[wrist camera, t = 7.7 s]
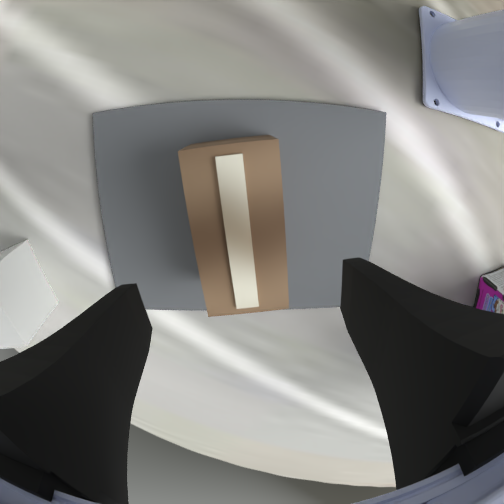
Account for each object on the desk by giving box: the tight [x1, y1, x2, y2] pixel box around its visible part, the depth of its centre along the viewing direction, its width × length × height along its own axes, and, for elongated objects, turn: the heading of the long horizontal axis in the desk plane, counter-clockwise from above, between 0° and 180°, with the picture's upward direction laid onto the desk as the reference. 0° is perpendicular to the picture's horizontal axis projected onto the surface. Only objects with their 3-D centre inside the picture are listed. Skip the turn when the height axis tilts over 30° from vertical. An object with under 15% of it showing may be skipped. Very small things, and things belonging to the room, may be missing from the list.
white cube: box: [0, 239, 59, 349], centre depth 17 cm, size 6×6×6 cm
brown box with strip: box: [178, 135, 289, 317], centre depth 16 cm, size 9×4×4 cm, turn 6°
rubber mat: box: [93, 99, 386, 310], centre depth 18 cm, size 18×14×1 cm
